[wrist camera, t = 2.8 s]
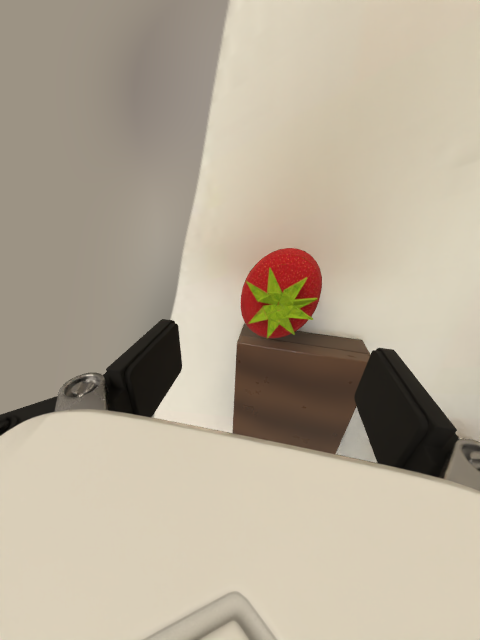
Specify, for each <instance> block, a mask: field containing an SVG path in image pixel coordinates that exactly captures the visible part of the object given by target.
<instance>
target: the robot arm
mask: <svg viewBox="0 0 480 640" xmlns="http://www.w3.org/2000/svg"><path fill="white" fill-rule="evenodd" d="M181 369H182V361H181V351H180V341H179V331H178V325H177V324H175V322H174V321H172V320H165V319H162V320H161V321H159V322H158V323H157V324H156V325H155V326H154V327H153V328H152V329H151V330H149V331H148V332H147V333H146V334H145V335H144V336H143V337H142V338H140V339H139V340H138V341H137V342H136V343H135V344H134V345H133V346H131V347H130V348H129V349H128V350H127V351H126V352H125V353H124V354H122V355H121V356H120V357H119V358H118V359H117V360H116V361H115V362H113V363H112V364H111V365H110V366H109V367H108V368H107V369H106V370H107V372H106V373H105V374H104V375H101V374H99V373H86V374H82V375H80V376H76V377H74V378H72V379H70V380H69V381H68V382H66V383H65V384H64V385H63V386H62V387H61V388H60V390H59V393H58V396H57V397H53V398H50V399H47V400H44V401H41V402H38V403H35V404H32V405H29V406H26V407H23V408H20V409H17V410H14V411H11V412H7V413H5V414H1V415H0V640H480V442H477V441H474V440H470V439H459V438H458V437H457V435H456V434H455V432H456V431H457V429H456V428H455V427H454V426H453V424H452V423H451V422H450V421H449V419H448V418H447V417H446V415H445V414H444V413H443V412H442V410H441V409H440V408H439V407H438V405H437V404H436V403H435V401H434V400H433V399H432V398H431V396H430V395H429V394H428V393H427V391H426V390H425V389H424V387H423V386H422V385H421V384H420V382H419V381H418V380H417V379H416V377H415V376H414V375H413V373H412V372H411V371H410V370H409V368H408V367H407V366H406V365H405V363H404V362H403V361H402V359H401V358H400V357H399V356H398V354H397V353H396V352H395V351H394V350H391V349H383V348H378V349H377V350H376V351H372V353H371V355H370V357H369V360H368V362H367V365H366V367H365V370H364V372H363V375H362V377H361V380H360V382H359V385H358V387H357V390H356V392H355V396H354V399H355V403H356V406H357V408H358V411H359V414H360V417H361V419H362V422H363V425H364V427H365V430H366V433H367V436H368V438H369V441H370V444H371V446H372V449H373V452H374V454H375V457H376V460H377V463H374V462H369V461H365V460H360V459H355V458H350V457H345V456H341V455H336V454H331V453H326V452H321V451H316V450H312V449H307V448H302V447H297V446H292V445H287V444H282V443H278V442H273V441H268V440H263V439H258V438H253V437H248V436H243V435H238V434H233V433H228V432H223V431H218V430H213V429H208V428H203V427H198V426H193V425H187V424H182V423H177V422H172V421H167V420H162V419H157V418H151V417H152V415H153V414H154V412H155V411H156V409H157V408H158V406H159V405H160V403H161V401H162V400H163V398H164V397H165V395H166V394H167V392H168V391H169V389H170V387H171V386H172V384H173V383H174V381H175V380H176V378H177V377H178V375H179V373H180V372H181Z"/></svg>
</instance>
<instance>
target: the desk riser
mask: <svg viewBox="0 0 480 640" xmlns="http://www.w3.org/2000/svg"><path fill="white" fill-rule="evenodd" d="M294 333H295V335H293V334H289V335H287V336H284V337H280V338H266V337H262V336H259V335H257V334H256V333H254V332H253V331H252V330H251V329H250V328H249V327H248V326H247V325H246V324H244V325H243V328H242V331H241V333H240V336H239V339H238V342H237V354H236V375H235V396H234V417H233V434H238V435H243V436H248V437H253V438H258V439H263V440H268V441H273V442H278V443H282V444H287V445H292V446H297V447H302V448H307V449H312V450H316V451H321V452H326V453H331V454H336V451H337V449H338V447H339V444H340V442H341V440H342V438H343V435H344V433H345V431H346V429H347V426H348V424H349V422H350V419H351V417H352V415H353V413H354V410H355V408H356V403H355V399H354V396H355V392H356V390H357V387H358V385H359V382H360V380H361V377H362V375H363V372H364V370H365V367H366V365H367V362H368V360H369V357H370V353H369V351H368V350H367V348H366V346H365V344H364V342H363V341H362V340H357V339H349V338H342V337H335V336H328V335H320V334H313V333H306V332H299V331H295V332H294Z"/></svg>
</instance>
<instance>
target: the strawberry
mask: <svg viewBox="0 0 480 640" xmlns="http://www.w3.org/2000/svg"><path fill="white" fill-rule="evenodd" d="M321 288H322V276H321V272H320V268H319V266H318V264H317V262H316V261H315V260H314V258H313V257H312V256H311V255H309V254H308V253H306V252H305V251H302V250H299V249H294V248H286V249H280V250H277V251H274V252H272V253H270V254H268V255H267V256H265V257H264V258H262V259H261V260H260V261H259V262H258V263H257V264H256V265H255V266H254V268H253V269H252V270H251V271H250V273H249V275H248V276H247V278H246V280H245V283H244V286H243V290H242V295H241V312H242V316H243V319H244V321H245V323H246V325H247V326H248V327H249V328H250V329H251V330H252V331H253V332H254V333H256V334H257V335H259V336H262V337H266V338H280V337H284V336H287V335H289V334H293V335H295V333H294V332H295V331H297V330H298V329H300V328H301V327H302V326H303V325H304V324H305V323H306V322H307V321H308V320H309V319H310V320H313V318H311V316H312V314H313V313H314V311H315V309H316V307H317V304H318V302H319V298H320V293H321Z"/></svg>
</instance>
